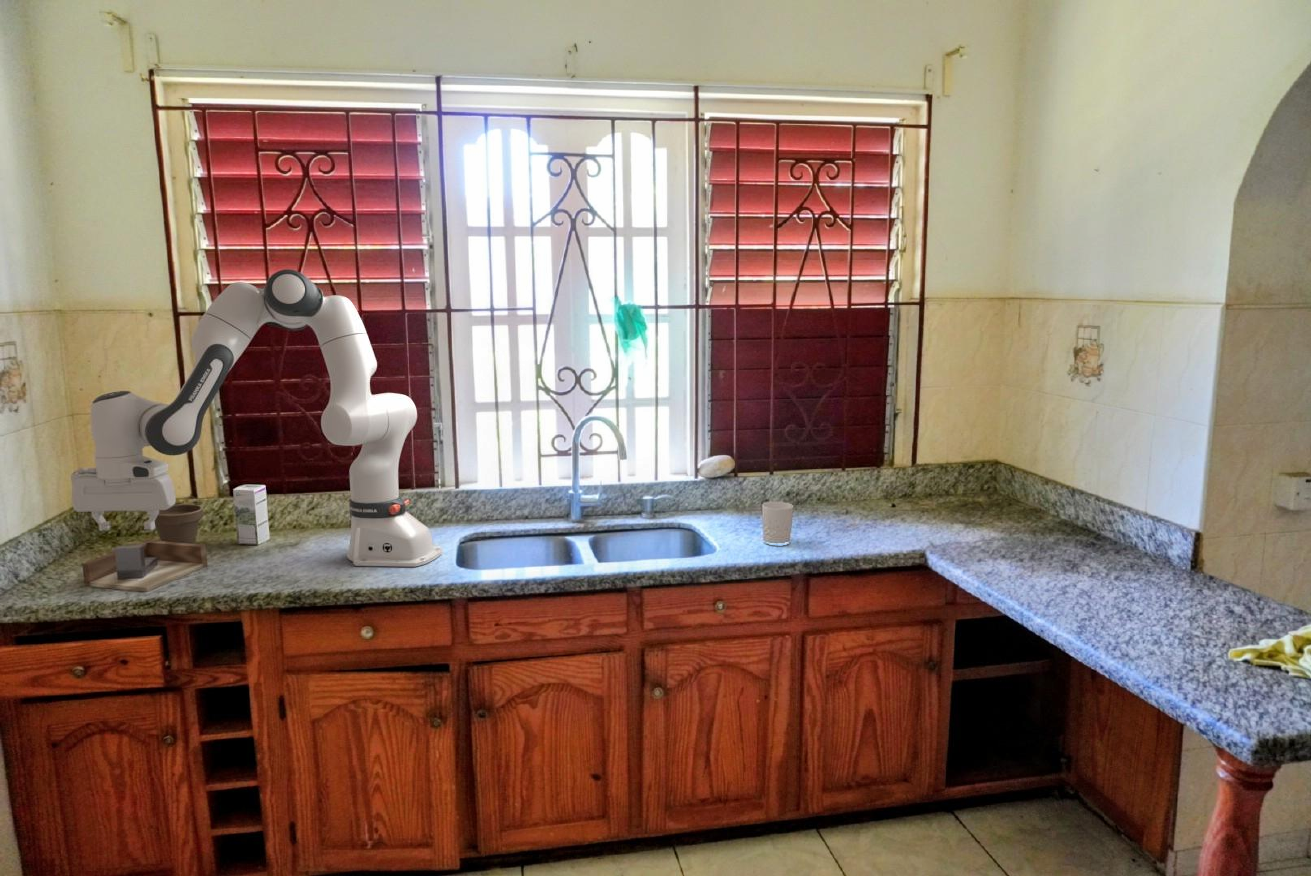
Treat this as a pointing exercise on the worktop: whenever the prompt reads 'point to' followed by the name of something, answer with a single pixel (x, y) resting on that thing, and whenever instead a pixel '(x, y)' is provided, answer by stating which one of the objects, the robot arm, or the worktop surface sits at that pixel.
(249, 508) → the syrup box
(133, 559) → the angle bracket
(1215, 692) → the worktop surface
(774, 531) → the white cup
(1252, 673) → the worktop surface
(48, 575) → the worktop surface
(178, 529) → the flower pot
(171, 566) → the corner arena
